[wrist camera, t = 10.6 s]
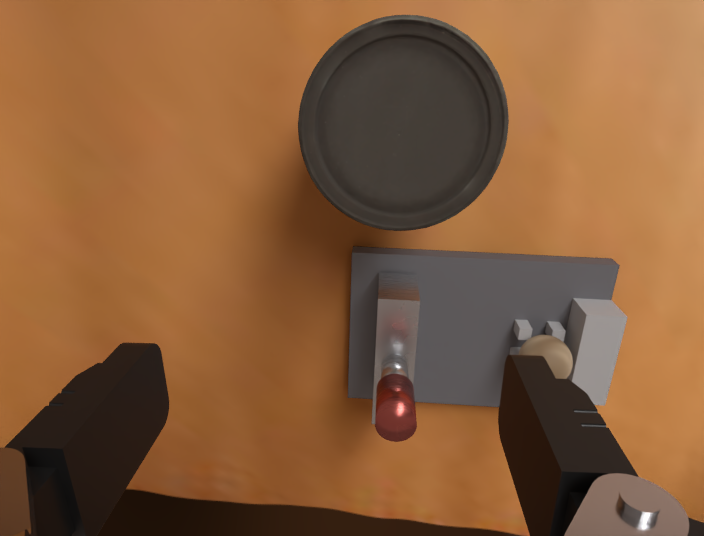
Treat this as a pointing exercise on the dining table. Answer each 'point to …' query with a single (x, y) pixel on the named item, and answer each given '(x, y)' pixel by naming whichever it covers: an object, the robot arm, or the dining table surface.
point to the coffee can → (403, 122)
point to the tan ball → (550, 353)
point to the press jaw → (395, 356)
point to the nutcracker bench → (488, 319)
